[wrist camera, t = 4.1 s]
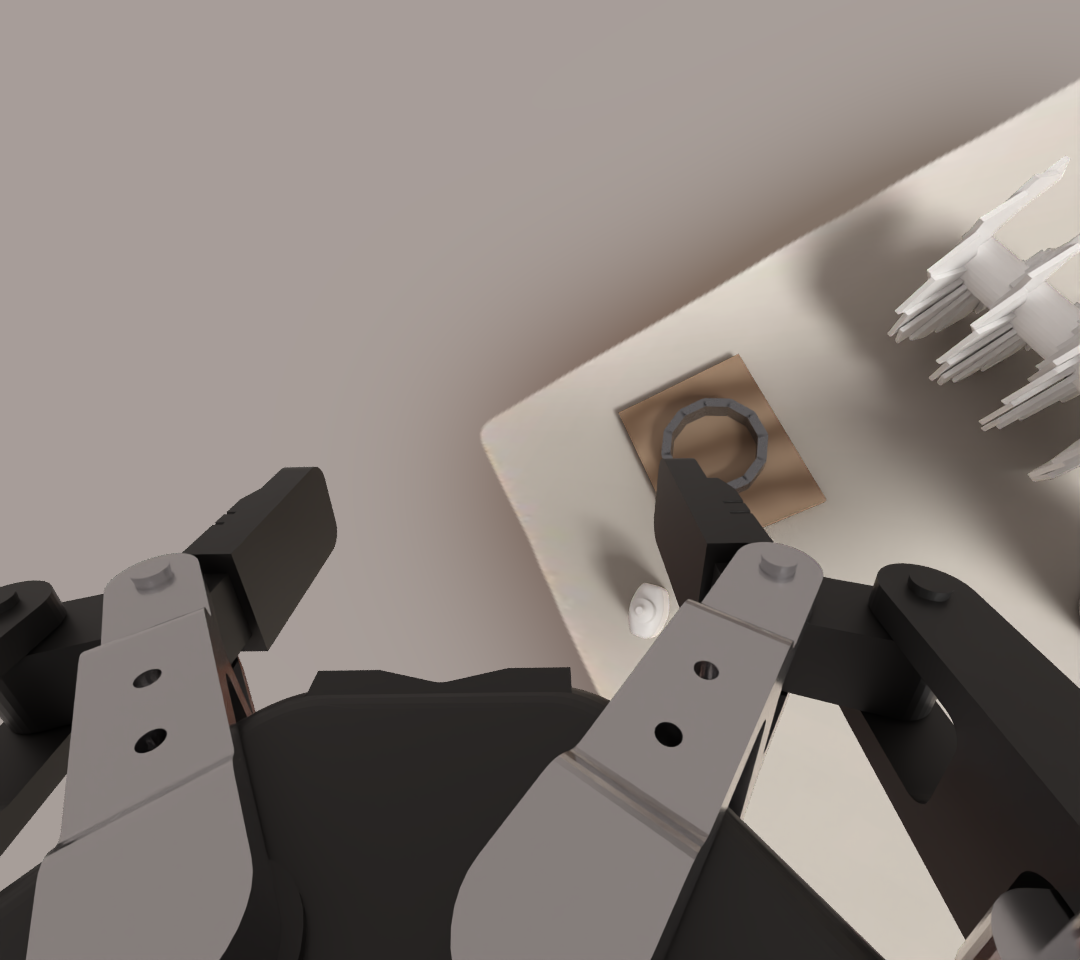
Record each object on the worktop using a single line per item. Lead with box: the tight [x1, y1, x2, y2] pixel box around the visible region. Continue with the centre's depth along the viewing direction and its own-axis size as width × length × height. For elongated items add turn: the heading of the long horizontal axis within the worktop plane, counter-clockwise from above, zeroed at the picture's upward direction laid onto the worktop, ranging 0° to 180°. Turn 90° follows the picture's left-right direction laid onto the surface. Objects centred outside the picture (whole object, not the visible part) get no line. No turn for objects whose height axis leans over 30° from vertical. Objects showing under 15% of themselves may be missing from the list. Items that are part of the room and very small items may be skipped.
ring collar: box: [661, 398, 768, 493], centre depth 58 cm, size 11×11×3 cm
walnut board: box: [619, 354, 826, 527], centre depth 60 cm, size 20×16×2 cm
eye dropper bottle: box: [628, 583, 670, 639], centre depth 53 cm, size 4×6×12 cm
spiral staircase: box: [887, 155, 1080, 482], centre depth 44 cm, size 18×18×25 cm
